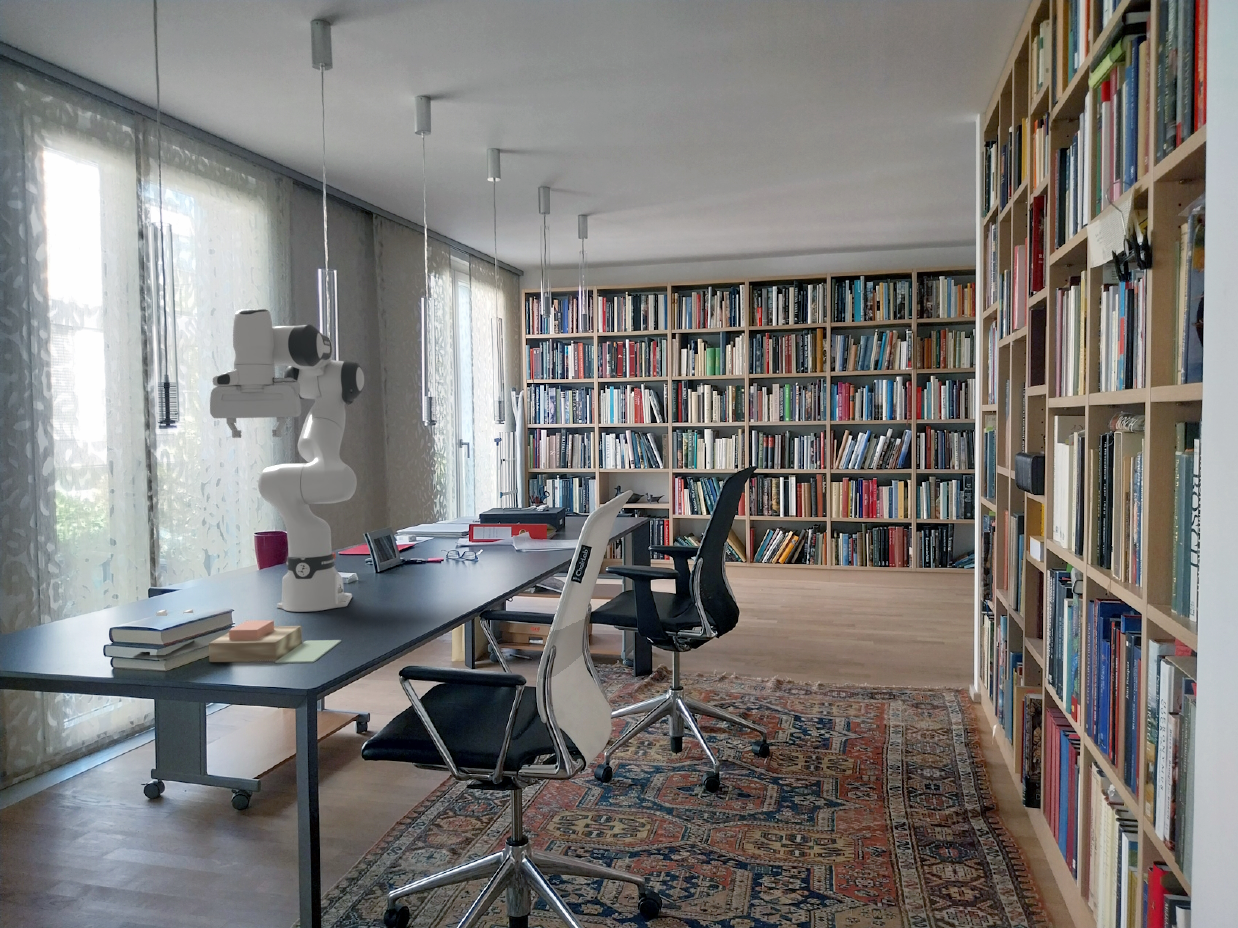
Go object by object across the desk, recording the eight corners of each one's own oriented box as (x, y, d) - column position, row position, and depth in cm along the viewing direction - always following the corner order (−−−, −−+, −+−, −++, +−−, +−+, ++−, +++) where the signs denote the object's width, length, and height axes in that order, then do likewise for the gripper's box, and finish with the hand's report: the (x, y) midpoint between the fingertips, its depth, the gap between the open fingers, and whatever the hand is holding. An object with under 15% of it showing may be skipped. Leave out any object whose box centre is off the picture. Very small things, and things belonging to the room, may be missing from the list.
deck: (240, 644, 204) (239, 626, 204) (301, 643, 204) (301, 625, 204) (209, 662, 189) (208, 643, 189) (276, 661, 189) (275, 642, 189)
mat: (306, 641, 205) (306, 640, 205) (341, 641, 205) (341, 639, 205) (275, 662, 187) (275, 661, 187) (313, 662, 187) (313, 661, 187)
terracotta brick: (247, 629, 201) (246, 620, 201) (274, 629, 201) (273, 620, 201) (229, 639, 192) (228, 630, 192) (257, 639, 192) (257, 629, 192)
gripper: (304, 378, 213) (306, 436, 214) (218, 379, 213) (220, 438, 214) (294, 376, 207) (296, 436, 207) (205, 378, 207) (207, 438, 208)
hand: (256, 437), depth 211 cm, fingers open, 8 cm apart
